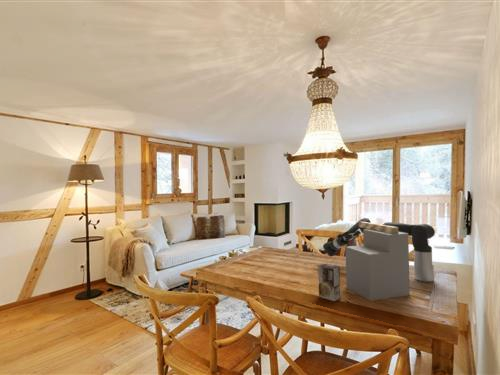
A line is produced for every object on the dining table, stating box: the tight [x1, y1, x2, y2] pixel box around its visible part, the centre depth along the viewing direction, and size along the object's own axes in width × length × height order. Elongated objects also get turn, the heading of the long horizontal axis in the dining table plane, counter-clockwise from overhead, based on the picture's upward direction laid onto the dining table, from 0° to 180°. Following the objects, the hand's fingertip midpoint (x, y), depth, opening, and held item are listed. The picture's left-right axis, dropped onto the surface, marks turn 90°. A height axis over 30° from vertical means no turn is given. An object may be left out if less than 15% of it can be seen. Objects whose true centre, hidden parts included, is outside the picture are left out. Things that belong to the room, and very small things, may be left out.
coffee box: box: [317, 263, 341, 302], centre depth 143 cm, size 9×6×16 cm
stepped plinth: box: [344, 229, 411, 302], centre depth 151 cm, size 20×24×32 cm
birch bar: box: [357, 220, 398, 234], centre depth 158 cm, size 28×3×3 cm, turn 16°
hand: (353, 232), depth 179 cm, fingers open, 8 cm apart
